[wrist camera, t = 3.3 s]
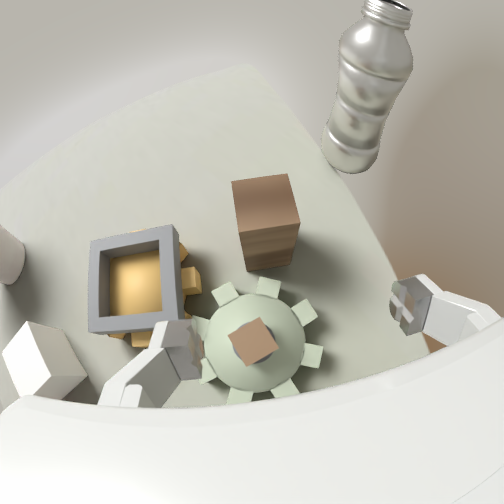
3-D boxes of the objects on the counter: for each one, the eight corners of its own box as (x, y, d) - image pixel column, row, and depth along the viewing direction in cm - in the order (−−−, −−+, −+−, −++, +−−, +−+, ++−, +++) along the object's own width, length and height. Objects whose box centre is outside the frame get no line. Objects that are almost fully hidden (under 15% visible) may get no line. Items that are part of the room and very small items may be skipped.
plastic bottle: (345, 190, 28) (406, 19, 9) (306, 150, 30) (327, -14, 12) (381, 167, 29) (444, 23, 10) (343, 132, 31) (378, -10, 13)
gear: (339, 361, 22) (357, 362, 17) (233, 424, 20) (225, 440, 16) (275, 262, 26) (278, 241, 21) (174, 321, 24) (153, 312, 19)
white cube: (37, 357, 23) (1, 352, 17) (63, 329, 24) (26, 320, 18) (59, 401, 21) (23, 404, 15) (88, 375, 22) (51, 375, 17)
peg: (289, 264, 25) (300, 222, 18) (246, 271, 25) (238, 232, 17) (281, 226, 27) (287, 173, 19) (240, 232, 27) (231, 181, 19)
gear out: (207, 341, 23) (196, 339, 19) (104, 349, 23) (78, 346, 19) (196, 231, 27) (185, 209, 23) (103, 248, 27) (82, 232, 23)
